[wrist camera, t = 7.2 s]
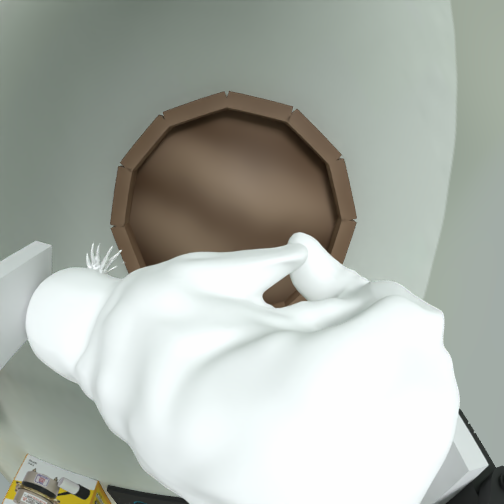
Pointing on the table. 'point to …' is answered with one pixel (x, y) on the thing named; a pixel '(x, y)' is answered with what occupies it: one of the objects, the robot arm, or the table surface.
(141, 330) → the white piece
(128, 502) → the smart home device
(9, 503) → the packaging box
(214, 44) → the table surface
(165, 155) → the coaster
